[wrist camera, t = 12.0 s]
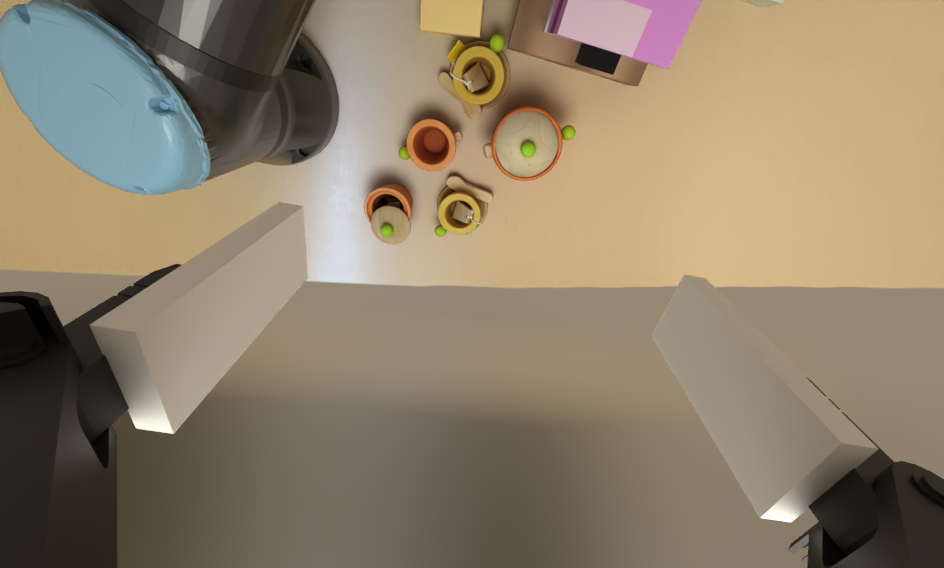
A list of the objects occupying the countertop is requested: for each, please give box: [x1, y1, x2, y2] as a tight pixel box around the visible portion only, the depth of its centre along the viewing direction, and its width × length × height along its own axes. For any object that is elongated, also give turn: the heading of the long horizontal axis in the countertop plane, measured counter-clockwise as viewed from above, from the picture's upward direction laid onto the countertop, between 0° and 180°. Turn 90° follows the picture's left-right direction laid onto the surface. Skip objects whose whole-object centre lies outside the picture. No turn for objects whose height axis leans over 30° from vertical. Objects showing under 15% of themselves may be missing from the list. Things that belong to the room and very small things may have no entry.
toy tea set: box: [364, 34, 575, 244], centre depth 42 cm, size 26×16×10 cm, turn 141°
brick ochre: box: [420, 0, 484, 39], centre depth 37 cm, size 6×3×3 cm, turn 84°
